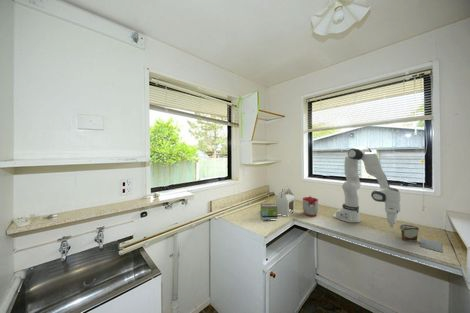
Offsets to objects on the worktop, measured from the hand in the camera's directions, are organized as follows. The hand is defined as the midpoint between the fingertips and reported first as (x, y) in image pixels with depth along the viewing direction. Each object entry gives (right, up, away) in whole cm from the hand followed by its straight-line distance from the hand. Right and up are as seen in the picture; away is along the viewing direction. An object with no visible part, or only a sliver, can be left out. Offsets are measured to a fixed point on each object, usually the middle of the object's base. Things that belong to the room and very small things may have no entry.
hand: (392, 225), depth 135 cm
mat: (+13, -8, -15) cm, 22 cm away
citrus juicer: (-45, -7, +45) cm, 64 cm away
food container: (+6, -8, -6) cm, 11 cm away
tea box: (-92, -9, +37) cm, 99 cm away
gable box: (-70, -8, +53) cm, 88 cm away
